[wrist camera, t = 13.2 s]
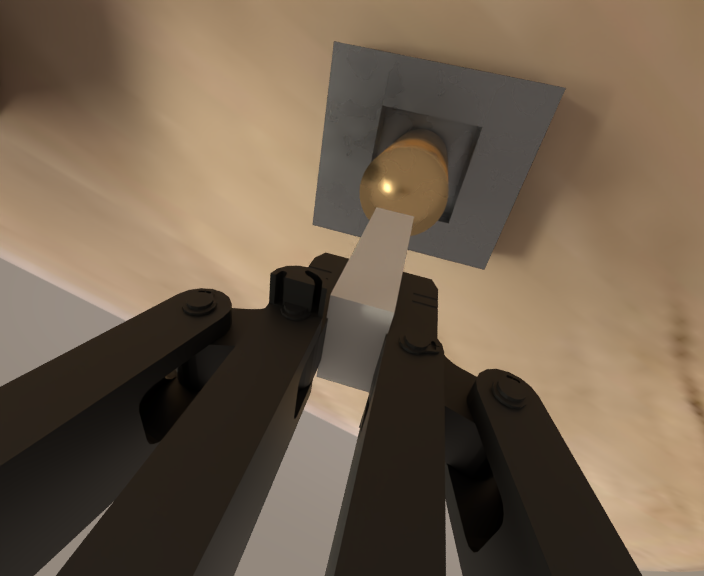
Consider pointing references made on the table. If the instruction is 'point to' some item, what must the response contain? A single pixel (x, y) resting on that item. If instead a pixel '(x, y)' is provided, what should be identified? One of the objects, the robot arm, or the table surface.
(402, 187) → the golden brown cylinder
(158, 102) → the table surface
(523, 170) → the jig block
